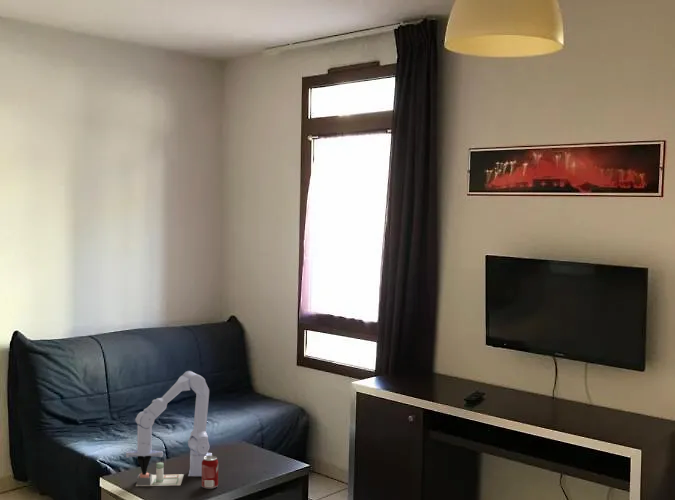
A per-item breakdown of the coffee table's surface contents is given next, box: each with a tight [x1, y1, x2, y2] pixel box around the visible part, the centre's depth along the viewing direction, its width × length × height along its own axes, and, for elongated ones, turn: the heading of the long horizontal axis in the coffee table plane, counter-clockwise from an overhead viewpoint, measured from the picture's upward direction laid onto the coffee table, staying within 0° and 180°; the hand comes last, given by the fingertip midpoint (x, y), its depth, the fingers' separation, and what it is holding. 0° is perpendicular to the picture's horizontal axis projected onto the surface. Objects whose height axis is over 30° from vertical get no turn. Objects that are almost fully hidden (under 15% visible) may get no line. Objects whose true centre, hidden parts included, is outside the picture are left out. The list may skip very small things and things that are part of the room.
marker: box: [155, 461, 165, 483], centre depth 316 cm, size 3×3×8 cm
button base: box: [136, 473, 153, 485], centre depth 314 cm, size 5×5×3 cm
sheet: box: [135, 473, 185, 487], centre depth 318 cm, size 18×13×1 cm
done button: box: [139, 471, 150, 478], centre depth 314 cm, size 4×4×4 cm
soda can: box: [201, 455, 219, 490], centre depth 312 cm, size 7×7×12 cm
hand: (144, 473), depth 314 cm, fingers closed, pressing on done button
